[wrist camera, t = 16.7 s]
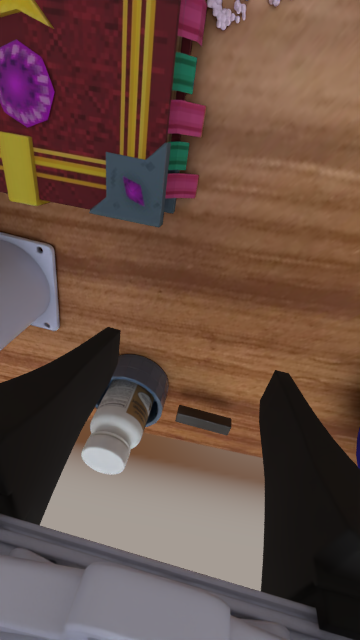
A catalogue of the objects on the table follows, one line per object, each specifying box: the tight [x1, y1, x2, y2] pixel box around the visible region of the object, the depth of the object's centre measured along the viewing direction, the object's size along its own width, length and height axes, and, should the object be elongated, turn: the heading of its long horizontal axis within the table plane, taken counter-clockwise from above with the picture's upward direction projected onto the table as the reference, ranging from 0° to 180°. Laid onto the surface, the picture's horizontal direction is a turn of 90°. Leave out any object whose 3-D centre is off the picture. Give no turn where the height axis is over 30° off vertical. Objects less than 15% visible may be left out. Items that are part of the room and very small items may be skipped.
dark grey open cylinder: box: [95, 354, 169, 427], centre depth 26 cm, size 6×6×3 cm
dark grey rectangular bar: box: [175, 405, 231, 435], centre depth 25 cm, size 5×1×1 cm, turn 80°
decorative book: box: [0, 0, 207, 227], centre depth 14 cm, size 11×16×5 cm
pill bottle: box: [81, 379, 154, 474], centre depth 24 cm, size 4×4×8 cm
